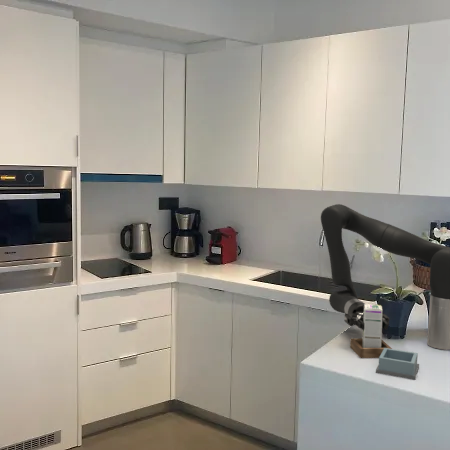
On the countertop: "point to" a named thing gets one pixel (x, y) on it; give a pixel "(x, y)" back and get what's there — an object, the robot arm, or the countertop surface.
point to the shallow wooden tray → (367, 349)
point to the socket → (398, 363)
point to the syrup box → (372, 326)
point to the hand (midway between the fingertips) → (374, 326)
